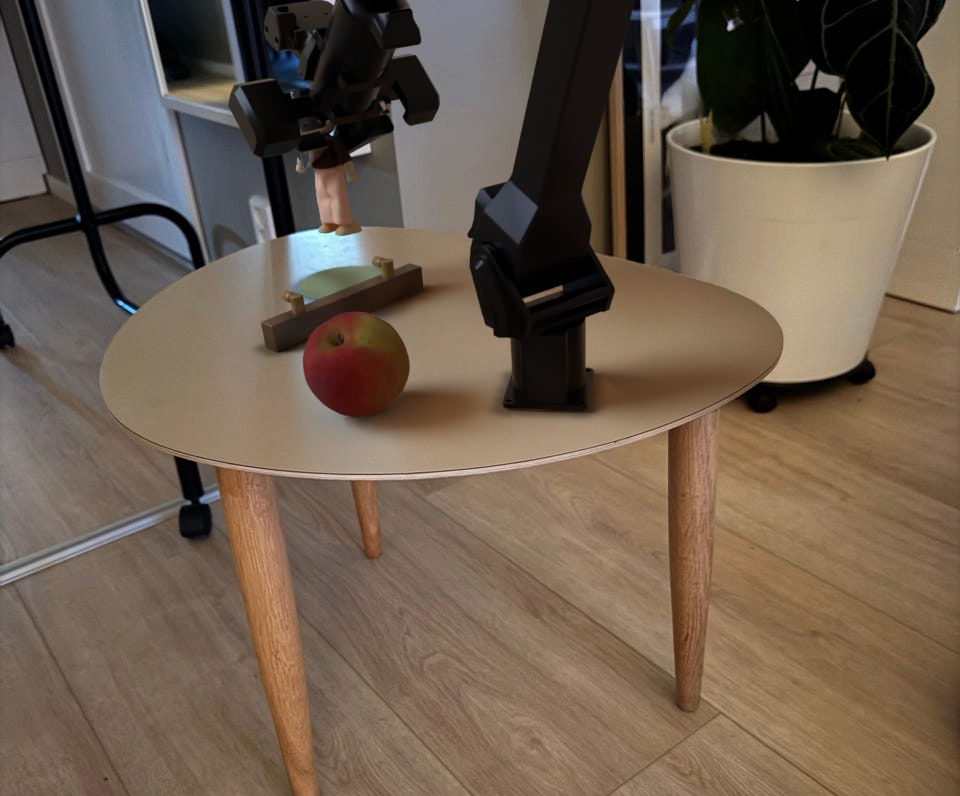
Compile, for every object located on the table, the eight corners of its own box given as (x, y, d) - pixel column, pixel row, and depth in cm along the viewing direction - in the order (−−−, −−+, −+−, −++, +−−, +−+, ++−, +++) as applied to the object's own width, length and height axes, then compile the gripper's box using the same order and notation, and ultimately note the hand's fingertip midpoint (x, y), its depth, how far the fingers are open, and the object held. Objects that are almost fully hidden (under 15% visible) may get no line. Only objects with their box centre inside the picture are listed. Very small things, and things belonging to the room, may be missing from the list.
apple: (303, 402, 75) (285, 307, 71) (400, 381, 77) (389, 288, 73) (323, 445, 69) (305, 345, 65) (428, 421, 71) (417, 322, 67)
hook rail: (277, 352, 84) (268, 309, 82) (199, 319, 92) (189, 279, 89) (430, 287, 95) (426, 247, 93) (349, 263, 103) (343, 225, 100)
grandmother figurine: (378, 227, 94) (363, 91, 88) (359, 238, 91) (342, 99, 85) (314, 222, 97) (294, 90, 90) (292, 233, 94) (271, 97, 88)
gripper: (409, -46, 83) (364, 77, 97) (211, -22, 75) (191, 109, 88) (468, 57, 82) (413, 167, 96) (273, 93, 73) (243, 209, 87)
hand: (318, 161), depth 92 cm, fingers closed on grandmother figurine, 3 cm apart
